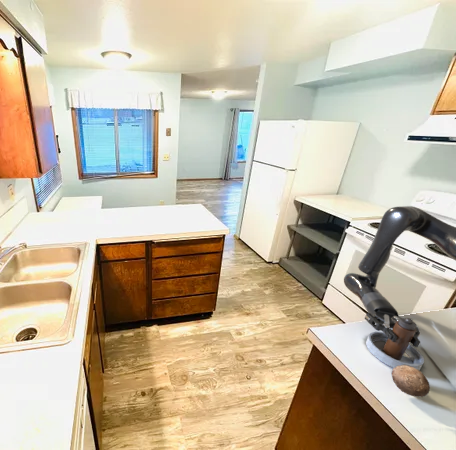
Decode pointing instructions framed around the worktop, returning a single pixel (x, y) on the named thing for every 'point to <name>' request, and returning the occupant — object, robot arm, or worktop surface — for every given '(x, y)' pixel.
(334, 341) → the worktop surface
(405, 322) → the pepper mill
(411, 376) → the brown oval lump
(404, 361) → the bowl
